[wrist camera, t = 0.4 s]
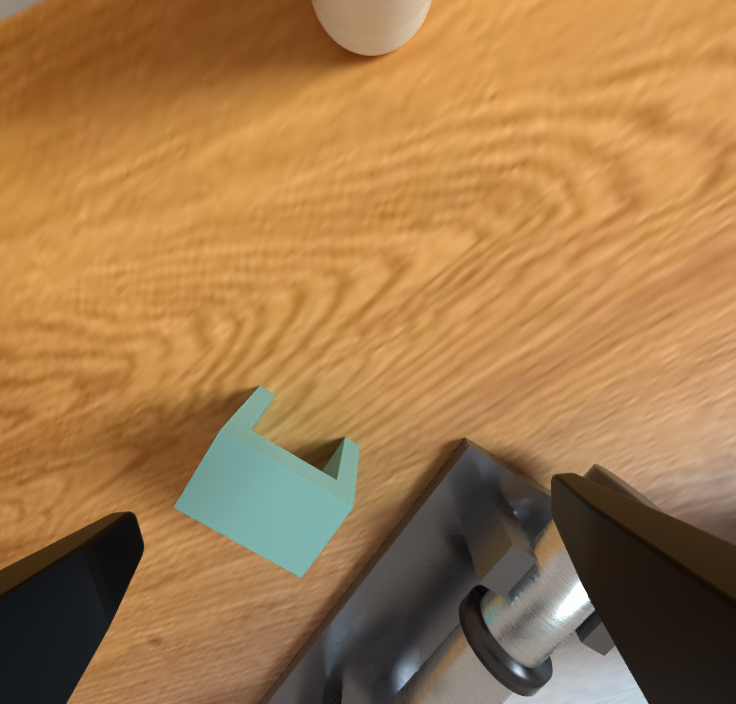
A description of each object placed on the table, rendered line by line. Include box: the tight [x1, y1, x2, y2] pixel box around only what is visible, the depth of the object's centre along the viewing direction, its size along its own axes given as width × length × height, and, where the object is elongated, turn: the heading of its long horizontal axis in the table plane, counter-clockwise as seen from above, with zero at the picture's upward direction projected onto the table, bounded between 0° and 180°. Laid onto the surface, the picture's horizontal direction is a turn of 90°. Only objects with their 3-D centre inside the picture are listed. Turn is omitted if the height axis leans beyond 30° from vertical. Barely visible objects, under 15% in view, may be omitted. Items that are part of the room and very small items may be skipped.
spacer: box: [174, 386, 360, 578], centre depth 20 cm, size 4×7×6 cm
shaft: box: [388, 464, 664, 704], centre depth 21 cm, size 23×5×5 cm, turn 147°
